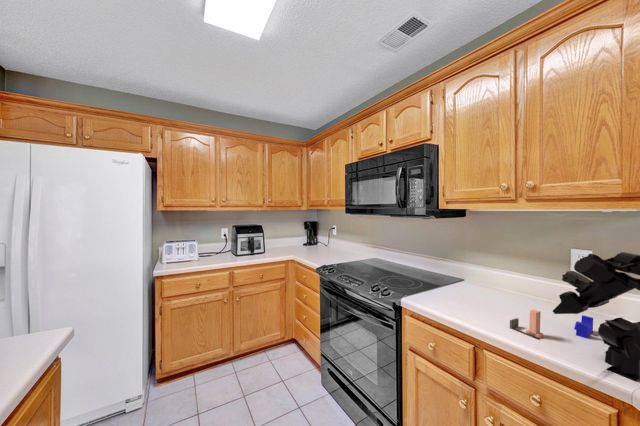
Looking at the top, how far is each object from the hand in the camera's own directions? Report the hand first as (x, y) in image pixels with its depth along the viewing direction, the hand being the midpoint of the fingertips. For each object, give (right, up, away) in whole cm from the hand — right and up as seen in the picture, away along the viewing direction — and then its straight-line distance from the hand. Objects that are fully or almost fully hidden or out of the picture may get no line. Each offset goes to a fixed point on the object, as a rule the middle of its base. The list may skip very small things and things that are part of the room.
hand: (561, 310), depth 89 cm
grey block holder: (-4, -13, +9) cm, 16 cm away
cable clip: (+18, -14, +10) cm, 25 cm away
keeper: (-3, -12, +7) cm, 14 cm away
